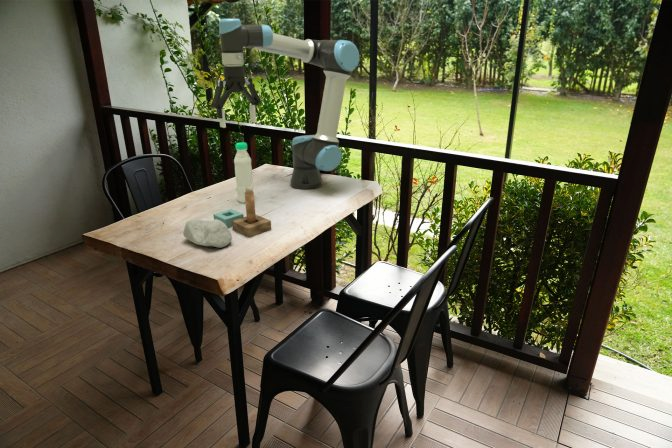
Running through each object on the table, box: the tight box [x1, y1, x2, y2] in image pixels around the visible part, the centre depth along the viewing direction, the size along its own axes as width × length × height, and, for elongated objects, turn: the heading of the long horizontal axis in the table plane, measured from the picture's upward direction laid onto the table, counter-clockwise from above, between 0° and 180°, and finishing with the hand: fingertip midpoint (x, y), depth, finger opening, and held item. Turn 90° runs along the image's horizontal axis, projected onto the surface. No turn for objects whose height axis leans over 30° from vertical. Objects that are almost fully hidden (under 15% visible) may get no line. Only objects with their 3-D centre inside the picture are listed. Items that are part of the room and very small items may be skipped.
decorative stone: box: [182, 218, 233, 248], centre depth 160 cm, size 17×10×10 cm
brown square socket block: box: [232, 213, 272, 238], centre depth 171 cm, size 10×10×4 cm
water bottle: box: [233, 141, 254, 204], centre depth 196 cm, size 7×7×25 cm
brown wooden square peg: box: [244, 187, 257, 224], centre depth 168 cm, size 3×3×16 cm
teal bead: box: [213, 208, 244, 229], centre depth 177 cm, size 8×8×4 cm
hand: (238, 124), depth 176 cm, fingers open, 13 cm apart
